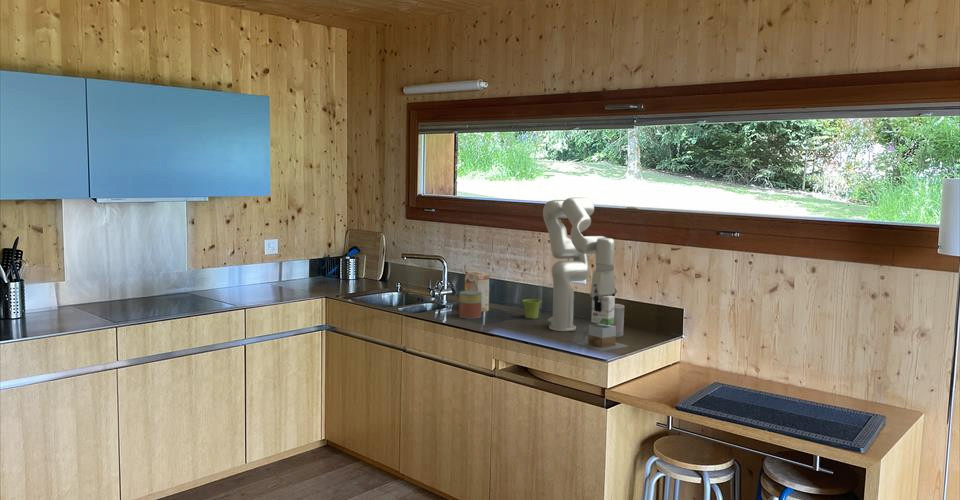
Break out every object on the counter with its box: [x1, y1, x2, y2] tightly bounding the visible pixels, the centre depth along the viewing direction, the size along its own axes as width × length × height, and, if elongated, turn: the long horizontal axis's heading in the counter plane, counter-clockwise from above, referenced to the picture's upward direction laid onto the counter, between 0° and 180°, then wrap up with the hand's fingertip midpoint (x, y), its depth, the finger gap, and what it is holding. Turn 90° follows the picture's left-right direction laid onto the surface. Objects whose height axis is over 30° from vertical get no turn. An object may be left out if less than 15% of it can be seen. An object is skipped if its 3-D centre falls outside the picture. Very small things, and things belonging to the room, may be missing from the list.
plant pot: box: [522, 298, 542, 320], centre depth 360 cm, size 9×9×9 cm
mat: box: [575, 340, 628, 352], centre depth 305 cm, size 16×16×1 cm
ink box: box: [590, 295, 616, 325], centre depth 303 cm, size 8×5×12 cm, turn 46°
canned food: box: [458, 290, 482, 320], centre depth 360 cm, size 11×11×12 cm
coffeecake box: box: [464, 269, 490, 313], centre depth 380 cm, size 15×7×20 cm, turn 28°
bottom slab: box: [587, 334, 617, 348], centre depth 305 cm, size 8×8×4 cm
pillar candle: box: [611, 303, 625, 338], centre depth 323 cm, size 10×10×15 cm
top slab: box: [588, 323, 616, 338], centre depth 304 cm, size 8×8×4 cm
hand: (602, 310), depth 303 cm, fingers closed on ink box, 5 cm apart
